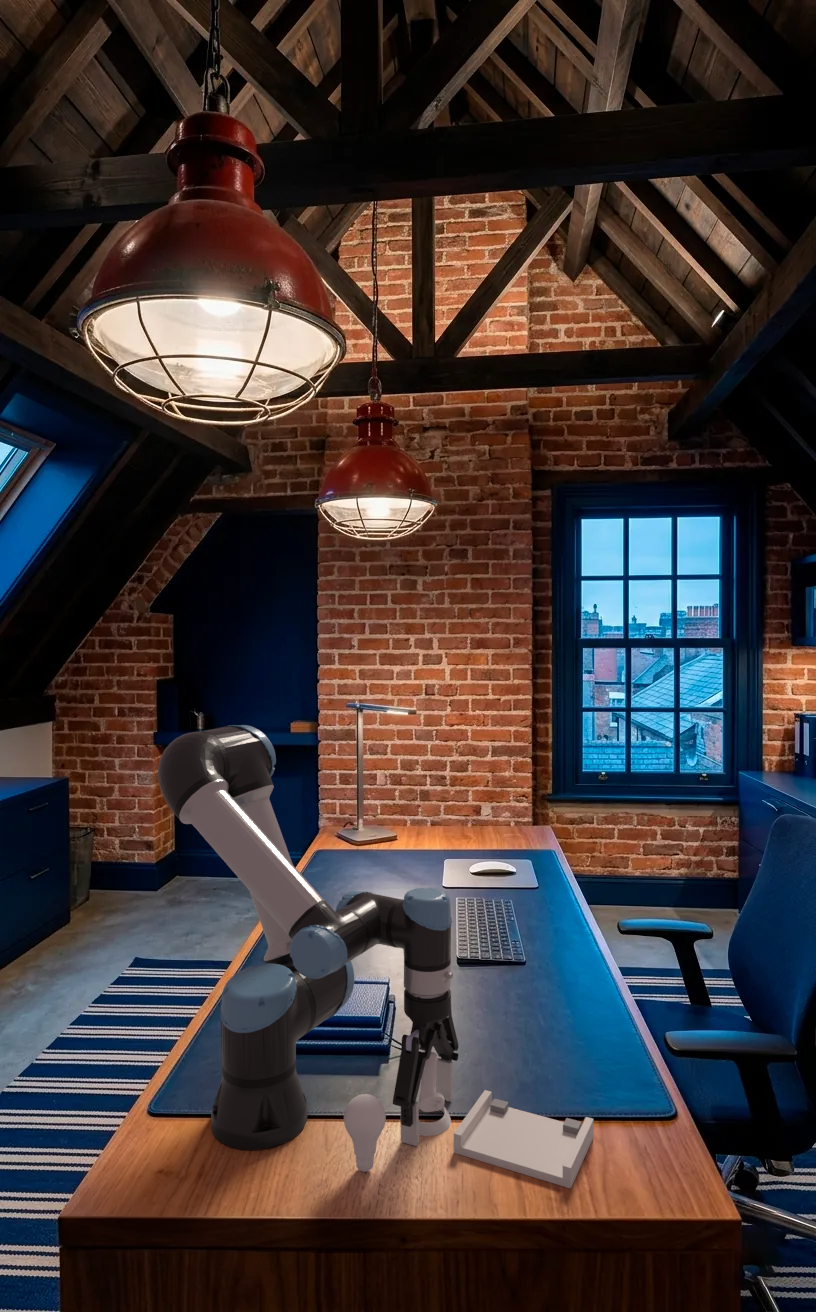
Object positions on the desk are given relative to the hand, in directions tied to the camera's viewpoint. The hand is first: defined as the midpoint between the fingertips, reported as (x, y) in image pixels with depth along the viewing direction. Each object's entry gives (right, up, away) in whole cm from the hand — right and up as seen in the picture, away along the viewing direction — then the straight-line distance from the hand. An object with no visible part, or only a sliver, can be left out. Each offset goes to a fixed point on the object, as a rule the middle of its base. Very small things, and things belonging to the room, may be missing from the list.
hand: (427, 1120), depth 135 cm
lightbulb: (-9, -1, -12) cm, 15 cm away
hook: (0, 0, 0) cm, 1 cm away
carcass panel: (+15, 0, -6) cm, 16 cm away
